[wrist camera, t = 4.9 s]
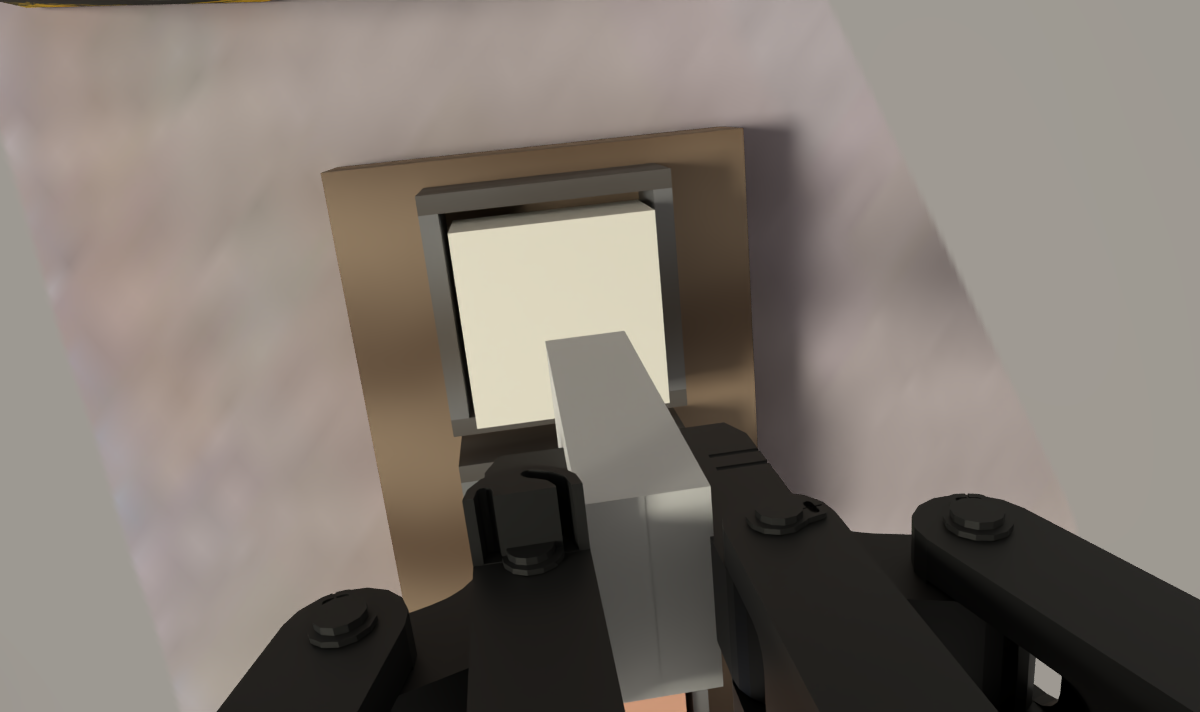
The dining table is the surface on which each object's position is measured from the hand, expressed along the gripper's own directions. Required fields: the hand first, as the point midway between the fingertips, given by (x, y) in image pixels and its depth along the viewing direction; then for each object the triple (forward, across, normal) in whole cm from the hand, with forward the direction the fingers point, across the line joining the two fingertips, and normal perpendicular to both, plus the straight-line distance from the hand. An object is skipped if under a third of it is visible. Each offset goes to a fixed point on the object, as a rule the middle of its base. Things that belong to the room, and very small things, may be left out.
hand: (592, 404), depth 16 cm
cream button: (+8, 0, 0) cm, 8 cm away
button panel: (+12, 0, -7) cm, 14 cm away
